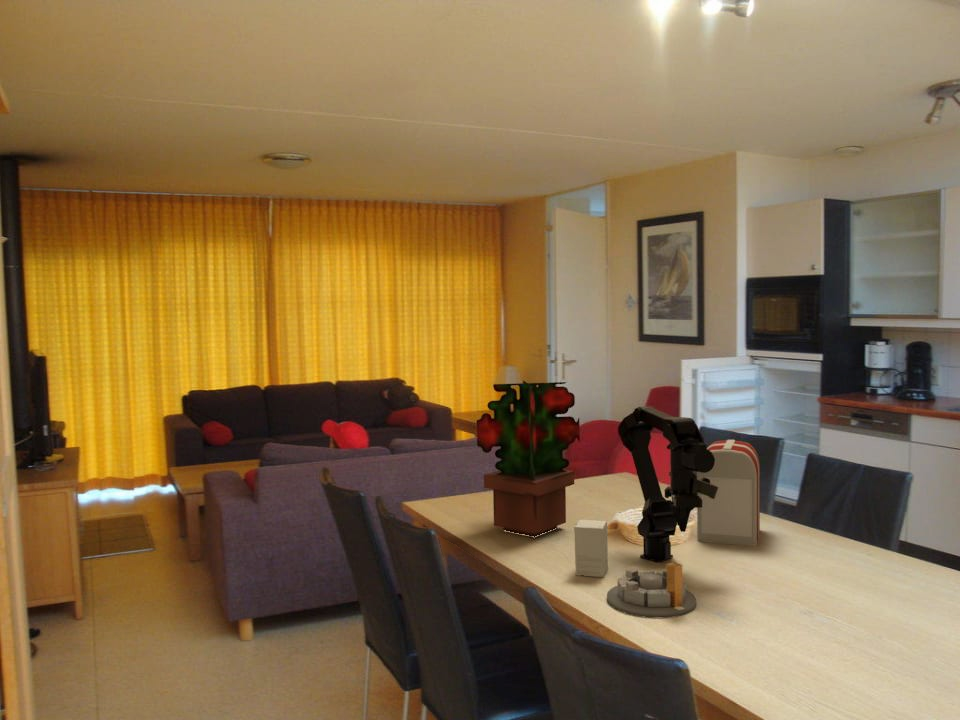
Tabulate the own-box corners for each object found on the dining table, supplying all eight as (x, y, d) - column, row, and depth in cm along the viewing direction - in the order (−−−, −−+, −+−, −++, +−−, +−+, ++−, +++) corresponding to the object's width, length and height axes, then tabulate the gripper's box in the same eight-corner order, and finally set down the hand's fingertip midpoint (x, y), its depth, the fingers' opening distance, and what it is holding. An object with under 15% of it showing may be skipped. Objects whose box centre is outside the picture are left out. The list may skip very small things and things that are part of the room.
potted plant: (580, 528, 245) (578, 381, 242) (538, 545, 228) (535, 388, 225) (523, 517, 259) (520, 378, 256) (479, 532, 242) (475, 384, 239)
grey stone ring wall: (613, 585, 190) (613, 548, 189) (673, 583, 190) (673, 546, 190) (627, 608, 175) (626, 568, 175) (692, 606, 176) (691, 566, 175)
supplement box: (608, 568, 206) (608, 520, 205) (603, 578, 199) (603, 528, 198) (580, 566, 209) (580, 518, 208) (574, 575, 202) (573, 526, 201)
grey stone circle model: (589, 601, 184) (588, 577, 183) (641, 579, 197) (641, 558, 197) (662, 625, 169) (662, 599, 169) (713, 600, 183) (713, 576, 182)
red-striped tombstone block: (696, 541, 229) (695, 447, 227) (703, 525, 245) (703, 437, 243) (757, 546, 223) (757, 450, 221) (760, 529, 239) (760, 440, 237)
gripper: (723, 472, 190) (724, 539, 189) (707, 464, 208) (708, 525, 208) (676, 472, 191) (676, 538, 190) (663, 464, 209) (664, 524, 209)
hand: (682, 531), depth 199 cm, fingers closed
